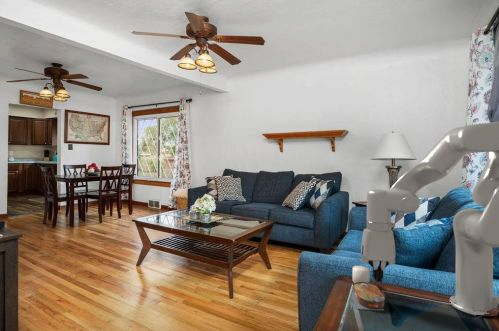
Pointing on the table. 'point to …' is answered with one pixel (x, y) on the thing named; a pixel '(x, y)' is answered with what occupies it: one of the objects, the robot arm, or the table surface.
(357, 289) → the tin
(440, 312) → the table surface
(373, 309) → the mat
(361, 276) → the white rounded dome
